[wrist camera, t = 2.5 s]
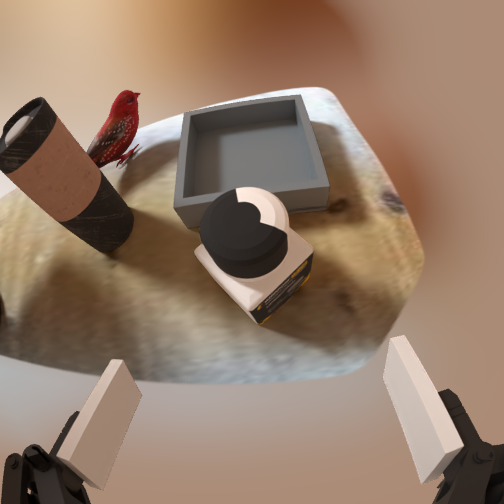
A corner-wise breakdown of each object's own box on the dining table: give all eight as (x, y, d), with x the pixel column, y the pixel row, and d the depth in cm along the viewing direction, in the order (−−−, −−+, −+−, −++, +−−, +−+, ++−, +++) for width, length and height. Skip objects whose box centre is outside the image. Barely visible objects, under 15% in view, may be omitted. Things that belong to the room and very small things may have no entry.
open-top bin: (187, 228, 33) (173, 207, 29) (193, 135, 40) (184, 112, 36) (326, 210, 32) (329, 186, 28) (301, 118, 38) (300, 94, 34)
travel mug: (145, 225, 34) (49, 107, 16) (101, 265, 33) (-15, 174, 15) (121, 193, 37) (41, 88, 19) (82, 229, 36) (-12, 140, 18)
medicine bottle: (259, 327, 27) (237, 294, 17) (212, 278, 30) (169, 221, 19) (311, 277, 29) (320, 215, 18) (262, 233, 31) (245, 159, 21)
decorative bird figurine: (163, 131, 41) (140, 83, 32) (84, 213, 37) (43, 174, 28) (153, 126, 42) (130, 80, 33) (76, 205, 38) (38, 167, 29)
